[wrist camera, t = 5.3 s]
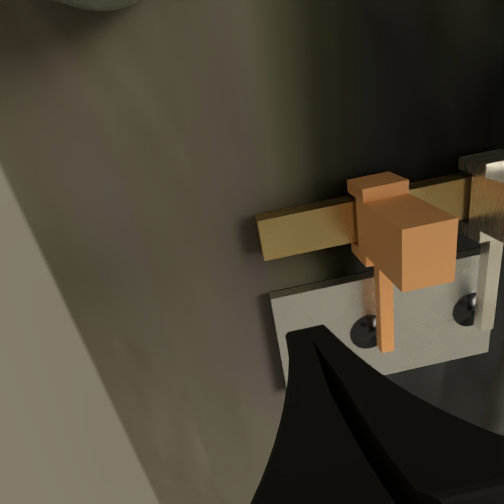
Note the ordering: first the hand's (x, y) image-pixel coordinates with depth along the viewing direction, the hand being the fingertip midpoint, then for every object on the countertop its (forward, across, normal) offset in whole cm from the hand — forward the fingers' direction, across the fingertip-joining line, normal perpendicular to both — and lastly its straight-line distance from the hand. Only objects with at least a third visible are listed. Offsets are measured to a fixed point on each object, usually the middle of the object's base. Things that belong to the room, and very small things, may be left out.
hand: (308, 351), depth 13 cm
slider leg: (+10, -6, +2) cm, 12 cm away
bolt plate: (+10, -7, +7) cm, 14 cm away
